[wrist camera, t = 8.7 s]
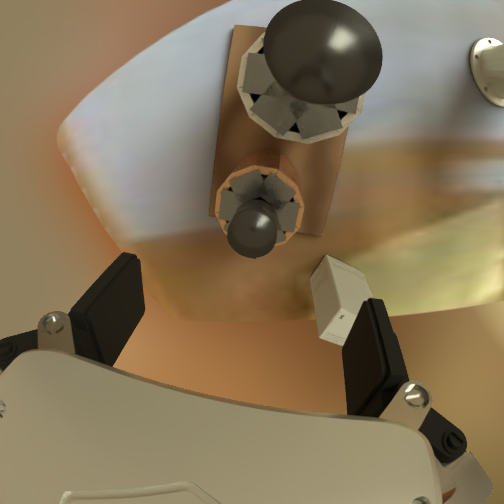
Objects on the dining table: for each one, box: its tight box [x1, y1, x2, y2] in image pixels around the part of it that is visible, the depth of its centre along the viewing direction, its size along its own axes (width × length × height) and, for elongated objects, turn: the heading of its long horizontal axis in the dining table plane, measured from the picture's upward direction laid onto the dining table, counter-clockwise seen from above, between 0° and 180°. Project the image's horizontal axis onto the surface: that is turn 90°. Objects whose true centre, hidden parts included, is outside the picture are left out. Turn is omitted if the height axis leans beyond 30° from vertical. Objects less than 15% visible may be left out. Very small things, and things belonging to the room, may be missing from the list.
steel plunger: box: [263, 0, 382, 105], centre depth 17 cm, size 8×8×19 cm
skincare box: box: [310, 255, 373, 346], centre depth 43 cm, size 8×6×15 cm
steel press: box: [237, 33, 365, 144], centre depth 28 cm, size 11×13×17 cm
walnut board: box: [209, 25, 348, 237], centre depth 39 cm, size 18×30×1 cm, turn 172°
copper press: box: [215, 150, 305, 259], centre depth 38 cm, size 10×12×13 cm
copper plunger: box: [227, 174, 278, 258], centre depth 33 cm, size 6×6×15 cm
